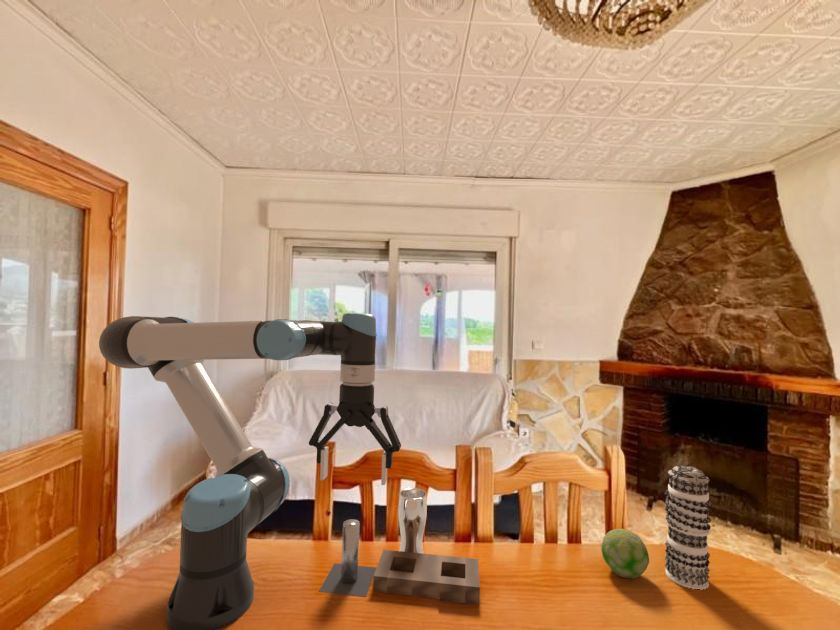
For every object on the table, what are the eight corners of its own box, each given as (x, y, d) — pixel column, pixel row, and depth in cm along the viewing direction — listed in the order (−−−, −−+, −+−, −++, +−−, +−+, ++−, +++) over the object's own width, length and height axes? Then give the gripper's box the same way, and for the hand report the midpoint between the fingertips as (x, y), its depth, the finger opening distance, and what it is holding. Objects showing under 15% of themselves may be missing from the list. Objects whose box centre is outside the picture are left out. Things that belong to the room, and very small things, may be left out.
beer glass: (422, 565, 94) (424, 501, 94) (393, 561, 95) (395, 497, 96) (427, 549, 101) (429, 489, 101) (400, 545, 102) (402, 486, 103)
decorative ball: (621, 590, 87) (622, 544, 88) (591, 564, 97) (592, 522, 97) (659, 585, 90) (660, 540, 90) (626, 560, 99) (627, 519, 100)
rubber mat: (318, 593, 83) (318, 591, 83) (334, 564, 93) (334, 563, 93) (365, 598, 82) (365, 596, 82) (376, 569, 92) (376, 567, 92)
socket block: (372, 592, 84) (373, 575, 84) (382, 564, 94) (383, 549, 94) (479, 604, 81) (479, 587, 81) (477, 574, 91) (478, 559, 91)
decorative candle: (661, 580, 92) (663, 469, 92) (664, 561, 99) (666, 459, 100) (711, 597, 86) (713, 479, 87) (710, 575, 94) (712, 468, 95)
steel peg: (338, 583, 86) (340, 526, 86) (343, 573, 90) (345, 518, 90) (355, 585, 86) (357, 528, 86) (359, 574, 89) (361, 520, 89)
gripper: (296, 382, 86) (292, 482, 86) (410, 388, 83) (407, 491, 83) (309, 378, 94) (305, 470, 93) (415, 383, 91) (412, 478, 90)
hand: (353, 480), depth 88 cm, fingers open, 13 cm apart
